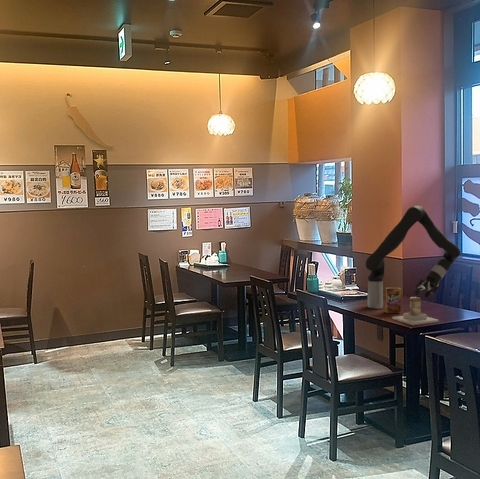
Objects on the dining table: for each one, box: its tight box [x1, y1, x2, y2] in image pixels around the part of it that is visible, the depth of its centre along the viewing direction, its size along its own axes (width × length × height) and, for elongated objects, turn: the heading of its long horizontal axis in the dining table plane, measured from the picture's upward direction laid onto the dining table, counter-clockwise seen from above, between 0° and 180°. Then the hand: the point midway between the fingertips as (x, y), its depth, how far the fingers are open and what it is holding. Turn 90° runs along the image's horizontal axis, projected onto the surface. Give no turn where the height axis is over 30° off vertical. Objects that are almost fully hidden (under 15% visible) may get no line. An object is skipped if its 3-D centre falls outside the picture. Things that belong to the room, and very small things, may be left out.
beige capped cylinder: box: [409, 296, 422, 316], centre depth 331 cm, size 4×4×12 cm
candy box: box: [384, 287, 402, 314], centre depth 355 cm, size 9×4×15 cm, turn 81°
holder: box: [391, 312, 439, 326], centre depth 332 cm, size 18×18×4 cm
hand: (420, 295), depth 332 cm, fingers open, 8 cm apart
